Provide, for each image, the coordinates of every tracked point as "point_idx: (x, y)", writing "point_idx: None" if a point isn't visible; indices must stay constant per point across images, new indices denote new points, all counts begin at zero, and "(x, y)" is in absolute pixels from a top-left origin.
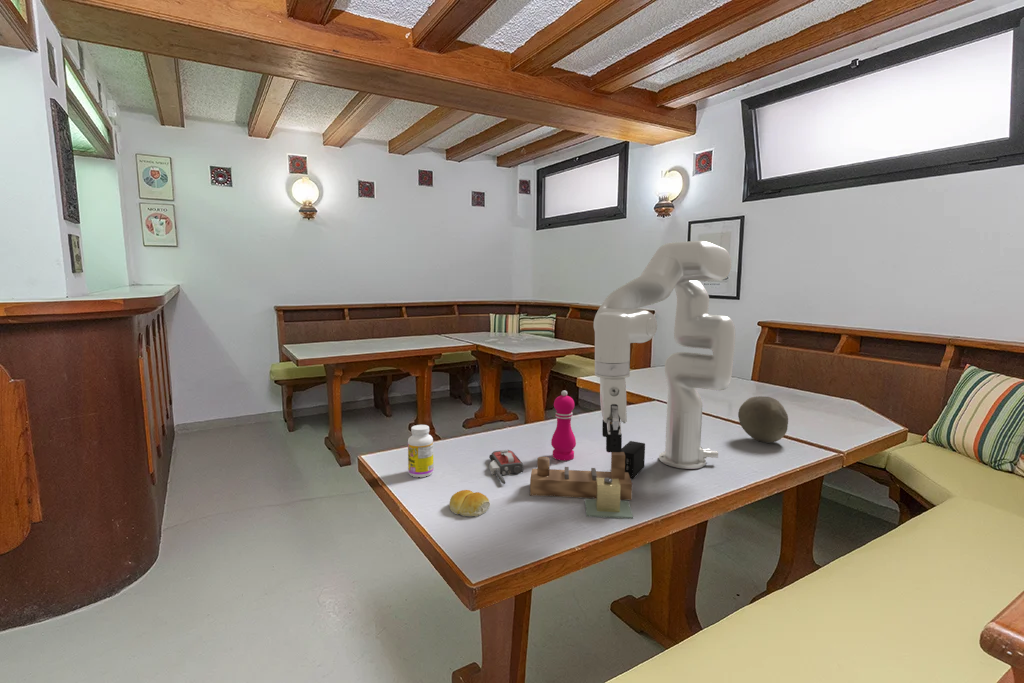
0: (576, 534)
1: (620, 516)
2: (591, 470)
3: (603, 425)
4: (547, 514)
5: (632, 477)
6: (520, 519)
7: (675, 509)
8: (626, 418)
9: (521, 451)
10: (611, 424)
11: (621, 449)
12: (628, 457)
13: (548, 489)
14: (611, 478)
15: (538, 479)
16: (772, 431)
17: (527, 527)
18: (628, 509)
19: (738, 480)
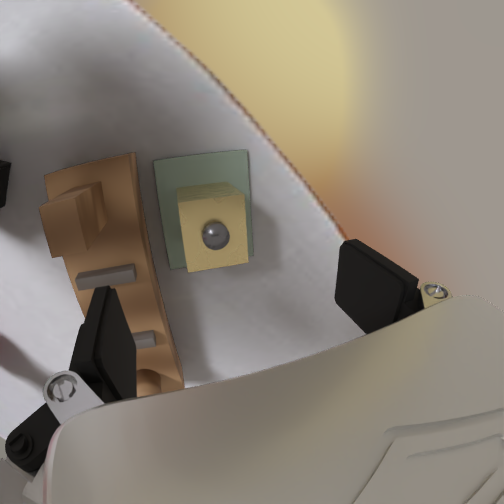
0: (323, 261)
1: (248, 179)
2: (90, 287)
3: (135, 396)
4: (255, 323)
5: (8, 165)
6: (280, 352)
7: (173, 46)
8: (499, 309)
9: (10, 397)
10: (117, 366)
11: (361, 242)
12: None
13: (174, 349)
14: (184, 226)
15: (180, 380)
16: None
17: (305, 335)
18: (206, 159)
19: None
